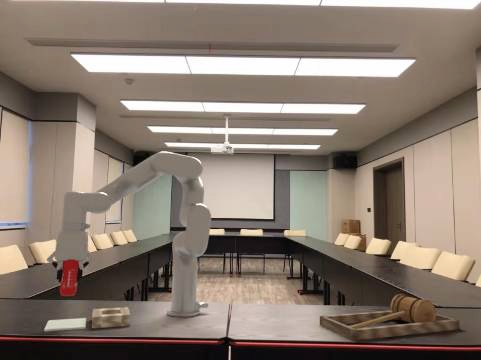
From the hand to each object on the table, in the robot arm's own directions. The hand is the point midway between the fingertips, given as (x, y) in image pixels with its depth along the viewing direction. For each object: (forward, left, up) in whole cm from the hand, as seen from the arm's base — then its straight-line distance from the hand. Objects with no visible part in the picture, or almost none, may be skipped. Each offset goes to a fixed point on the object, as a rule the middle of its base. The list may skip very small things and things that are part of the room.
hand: (69, 281), depth 126 cm
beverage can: (0, 0, -5) cm, 5 cm away
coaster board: (0, 0, -14) cm, 14 cm away
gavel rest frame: (-106, +33, -14) cm, 112 cm away
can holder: (-14, 0, -14) cm, 20 cm away
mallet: (-104, +33, -15) cm, 110 cm away
